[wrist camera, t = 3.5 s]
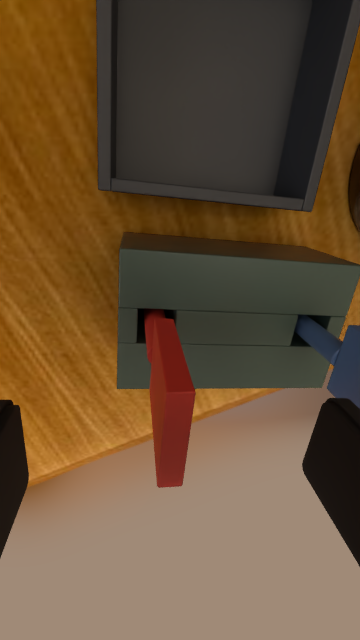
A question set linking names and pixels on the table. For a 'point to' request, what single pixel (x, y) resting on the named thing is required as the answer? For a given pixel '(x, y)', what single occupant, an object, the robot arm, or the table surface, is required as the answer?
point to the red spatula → (168, 397)
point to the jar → (355, 190)
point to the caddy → (230, 308)
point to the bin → (220, 97)
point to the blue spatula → (336, 356)
